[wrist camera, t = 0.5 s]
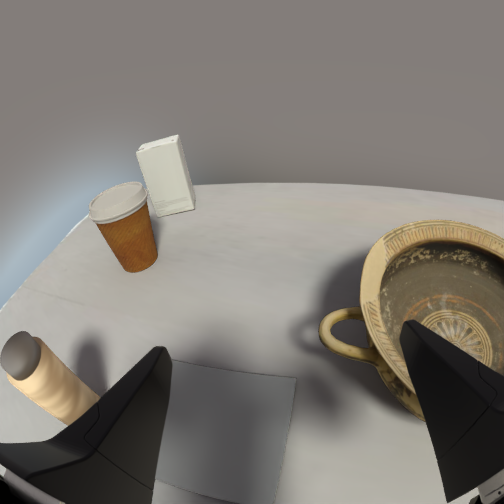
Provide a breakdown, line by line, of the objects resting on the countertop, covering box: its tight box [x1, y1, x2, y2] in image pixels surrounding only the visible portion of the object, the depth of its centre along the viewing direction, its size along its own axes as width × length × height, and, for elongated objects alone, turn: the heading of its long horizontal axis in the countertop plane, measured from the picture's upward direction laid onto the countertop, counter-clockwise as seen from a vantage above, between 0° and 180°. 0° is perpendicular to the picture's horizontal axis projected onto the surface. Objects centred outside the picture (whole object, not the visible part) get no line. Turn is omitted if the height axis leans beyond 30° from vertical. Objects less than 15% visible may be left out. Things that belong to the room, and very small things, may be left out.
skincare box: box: [136, 135, 195, 217], centre depth 52 cm, size 8×6×15 cm
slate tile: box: [155, 360, 296, 504], centre depth 21 cm, size 13×13×1 cm
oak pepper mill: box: [0, 331, 100, 426], centre depth 18 cm, size 5×5×12 cm
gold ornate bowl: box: [318, 220, 504, 421], centre depth 20 cm, size 30×24×10 cm
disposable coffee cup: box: [89, 182, 158, 272], centre depth 40 cm, size 10×10×12 cm
